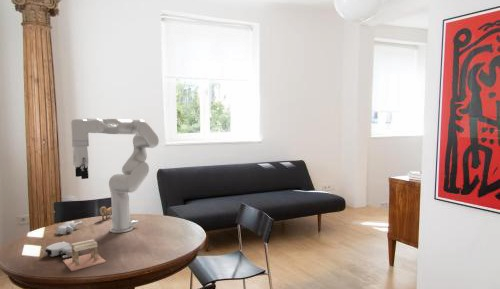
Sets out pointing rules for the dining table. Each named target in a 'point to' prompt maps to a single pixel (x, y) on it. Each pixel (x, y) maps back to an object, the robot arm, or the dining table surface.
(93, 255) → the birch stool
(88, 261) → the terracotta mat
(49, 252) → the robot toy
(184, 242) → the dining table surface
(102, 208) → the lion figurine
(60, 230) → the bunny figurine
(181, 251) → the dining table surface
